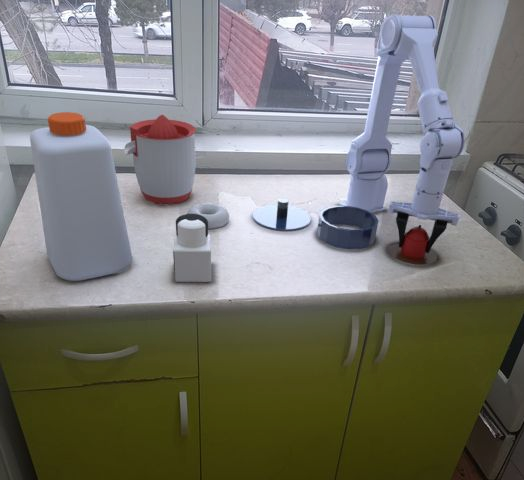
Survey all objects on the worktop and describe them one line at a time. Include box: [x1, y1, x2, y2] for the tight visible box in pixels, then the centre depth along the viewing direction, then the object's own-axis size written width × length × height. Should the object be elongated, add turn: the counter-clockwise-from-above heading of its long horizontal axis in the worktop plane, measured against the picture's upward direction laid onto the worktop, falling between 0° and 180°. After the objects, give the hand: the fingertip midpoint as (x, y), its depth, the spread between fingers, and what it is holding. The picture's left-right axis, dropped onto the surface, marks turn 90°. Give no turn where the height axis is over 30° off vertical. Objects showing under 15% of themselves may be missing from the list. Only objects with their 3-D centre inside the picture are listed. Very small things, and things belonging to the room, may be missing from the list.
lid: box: [252, 198, 312, 232], centre depth 124 cm, size 14×14×5 cm
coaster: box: [387, 242, 438, 266], centre depth 116 cm, size 11×11×1 cm
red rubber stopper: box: [401, 224, 430, 258], centre depth 113 cm, size 5×5×7 cm
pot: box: [316, 205, 379, 250], centre depth 119 cm, size 13×13×5 cm
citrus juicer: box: [123, 114, 197, 205], centre depth 126 cm, size 16×17×20 cm
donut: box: [186, 202, 230, 230], centre depth 121 cm, size 10×4×10 cm
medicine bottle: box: [172, 213, 212, 283], centre depth 100 cm, size 7×7×12 cm
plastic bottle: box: [29, 111, 133, 282], centre depth 96 cm, size 15×15×28 cm
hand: (413, 248), depth 115 cm, fingers closed on red rubber stopper, 5 cm apart
